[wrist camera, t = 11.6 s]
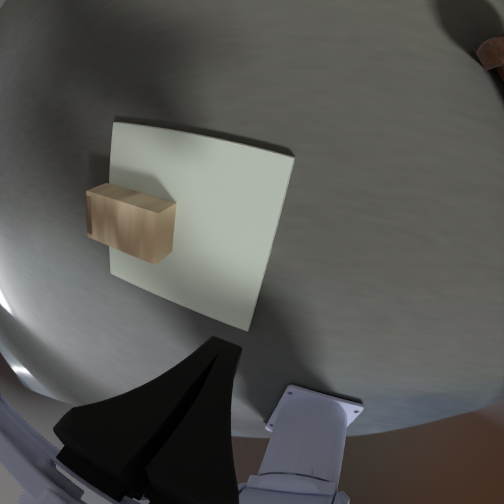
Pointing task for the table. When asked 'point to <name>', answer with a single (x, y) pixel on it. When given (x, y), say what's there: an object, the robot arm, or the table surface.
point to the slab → (131, 221)
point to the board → (203, 216)
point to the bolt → (491, 54)
